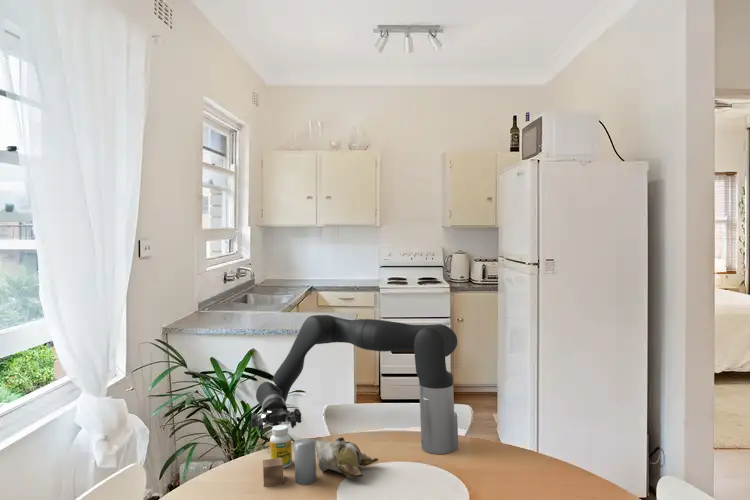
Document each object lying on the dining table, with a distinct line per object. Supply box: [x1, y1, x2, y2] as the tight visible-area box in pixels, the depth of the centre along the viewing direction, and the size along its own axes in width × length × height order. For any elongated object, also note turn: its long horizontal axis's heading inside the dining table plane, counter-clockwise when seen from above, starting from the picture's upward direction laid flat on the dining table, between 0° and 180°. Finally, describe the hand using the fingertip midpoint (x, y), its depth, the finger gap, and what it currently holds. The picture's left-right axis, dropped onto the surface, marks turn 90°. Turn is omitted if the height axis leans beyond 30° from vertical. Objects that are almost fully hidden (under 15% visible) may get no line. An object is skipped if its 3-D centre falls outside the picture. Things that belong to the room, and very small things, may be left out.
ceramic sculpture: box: [315, 437, 379, 479], centre depth 122 cm, size 11×9×15 cm
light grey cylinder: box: [293, 437, 317, 486], centre depth 118 cm, size 5×5×9 cm
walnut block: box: [262, 458, 284, 488], centre depth 118 cm, size 4×4×4 cm
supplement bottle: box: [269, 424, 293, 469], centre depth 128 cm, size 5×5×10 cm
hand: (277, 426), depth 139 cm, fingers open, 8 cm apart
